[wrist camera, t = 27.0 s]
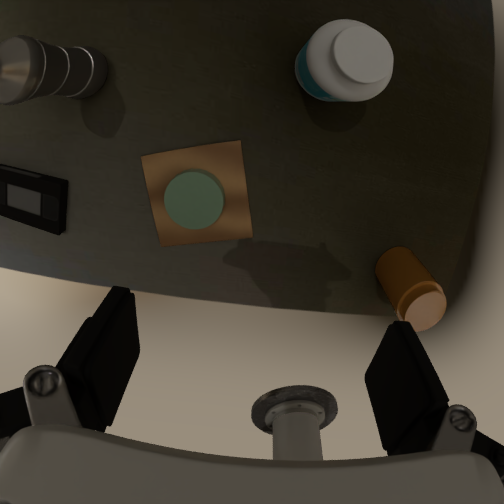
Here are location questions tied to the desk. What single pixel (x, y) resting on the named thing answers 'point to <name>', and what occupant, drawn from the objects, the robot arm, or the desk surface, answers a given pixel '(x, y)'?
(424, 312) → the jam jar
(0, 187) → the vhs tape
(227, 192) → the coaster
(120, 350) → the robot arm
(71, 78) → the plastic bottle
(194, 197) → the jam lid
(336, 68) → the pill bottle
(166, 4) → the desk surface
